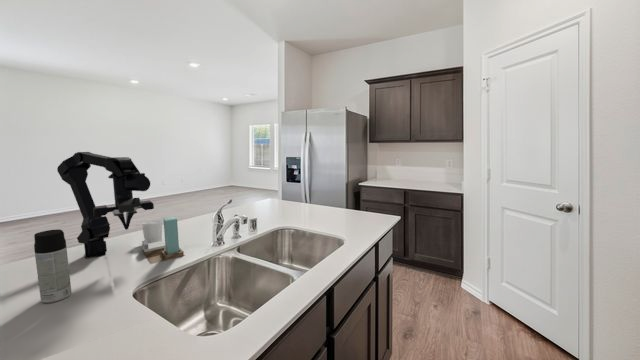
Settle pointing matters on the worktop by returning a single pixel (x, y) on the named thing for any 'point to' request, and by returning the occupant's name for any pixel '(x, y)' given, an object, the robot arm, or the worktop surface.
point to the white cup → (152, 230)
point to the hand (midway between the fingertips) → (126, 229)
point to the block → (171, 235)
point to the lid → (152, 246)
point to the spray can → (52, 265)
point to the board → (161, 255)
